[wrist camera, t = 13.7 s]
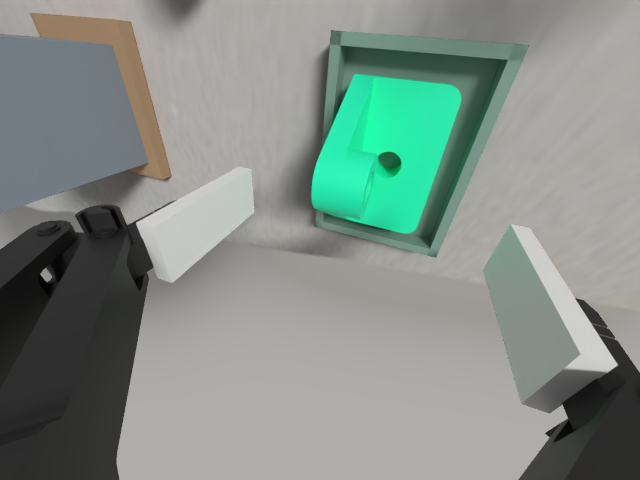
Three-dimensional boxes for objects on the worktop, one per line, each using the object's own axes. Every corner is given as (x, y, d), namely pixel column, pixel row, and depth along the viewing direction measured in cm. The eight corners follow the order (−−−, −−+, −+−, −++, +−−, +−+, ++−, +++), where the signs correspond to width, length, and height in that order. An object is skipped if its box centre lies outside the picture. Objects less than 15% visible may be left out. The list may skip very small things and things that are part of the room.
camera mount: (415, 222, 26) (408, 292, 18) (342, 205, 28) (306, 262, 20) (462, 84, 19) (486, 97, 11) (361, 73, 21) (318, 77, 13)
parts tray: (322, 215, 30) (315, 226, 28) (340, 34, 20) (331, 30, 18) (435, 243, 27) (435, 257, 25) (518, 47, 18) (529, 45, 16)
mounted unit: (104, 159, 38) (-103, 218, 23) (46, 15, 28) (-365, -41, 14) (171, 176, 35) (-17, 255, 20) (130, 21, 26) (-272, -39, 11)
